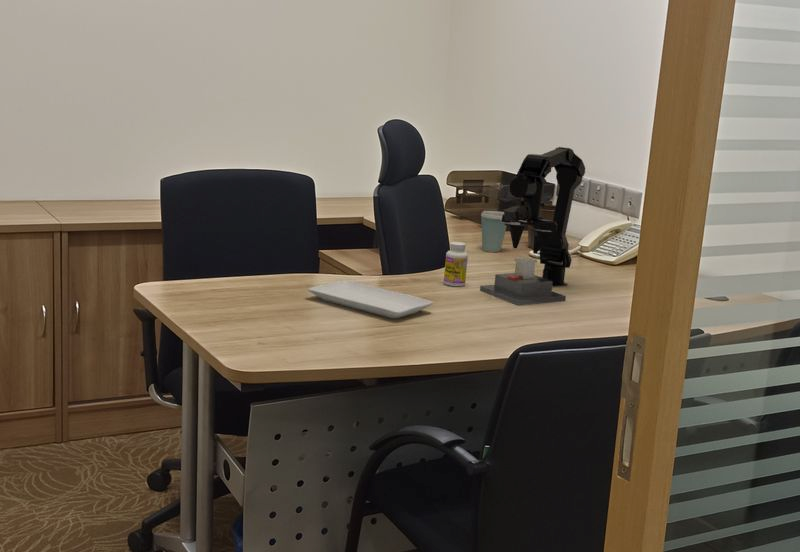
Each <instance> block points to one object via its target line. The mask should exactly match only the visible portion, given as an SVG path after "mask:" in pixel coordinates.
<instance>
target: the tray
mask: <svg viewBox="0 0 800 552" xmlns="http://www.w3.org/2000/svg"><path fill="white" fill-rule="evenodd" d="M307 291H308V292H310V293H311V294H312V295H314V296H316V297H318V298H320V299H321V300H322V301H327V302H329V303H333V304H334V303H335V304H337V305H341V306H345V307H349V308H352V309H356V310H360V311H363V312H367V313H369V314H375V315H379V316H381V317H386V318H388V319H399V318H402V317H406V316H410V315H414V314H417V313H419V312H420V311H422V310H425V309H427V308H429V307H430V306H432V305H433V304H434V301H432V300H429V299H425V298H422V297H417V296H414V295H409V294H406V293H401V292H397V291H394V290H393V291H392V290H390V289H386V288H381V287H377V286H373V285H370V284H369V285H368V284H366V283H360V282H356V281H352V280H349V279H343V280H338V281H334V282H329V283H324V284H321V285H317V286H316V285H315V286H313V287H312V286H311V287H308V288H307Z"/></svg>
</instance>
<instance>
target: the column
mask: <svg viewBox="0 0 800 552" xmlns="http://www.w3.org/2000/svg"><path fill="white" fill-rule="evenodd" d="M514 262H515V266H514V267H515V268H514V273H515V276H516V277H519V279H521V280H530V279H534V275H535V268H536V264H537V262H538V259H536V258H532V257H522V258H521V257H520V258H519V257H518V258H514Z"/></svg>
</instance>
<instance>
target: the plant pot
mask: <svg viewBox="0 0 800 552" xmlns="http://www.w3.org/2000/svg"><path fill="white" fill-rule="evenodd" d="M555 206H556V204H555V205H554V204H544V207H542V206H541V211H540V217H543V218H542V220H551V221H553V216H554V211H555ZM532 230H537V229H534V227H533V226H532V225H527V236H528V237H527V246H528V248H530V249H532V250H533V246H534V233H533V232H532ZM539 251H540V249H539Z"/></svg>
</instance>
